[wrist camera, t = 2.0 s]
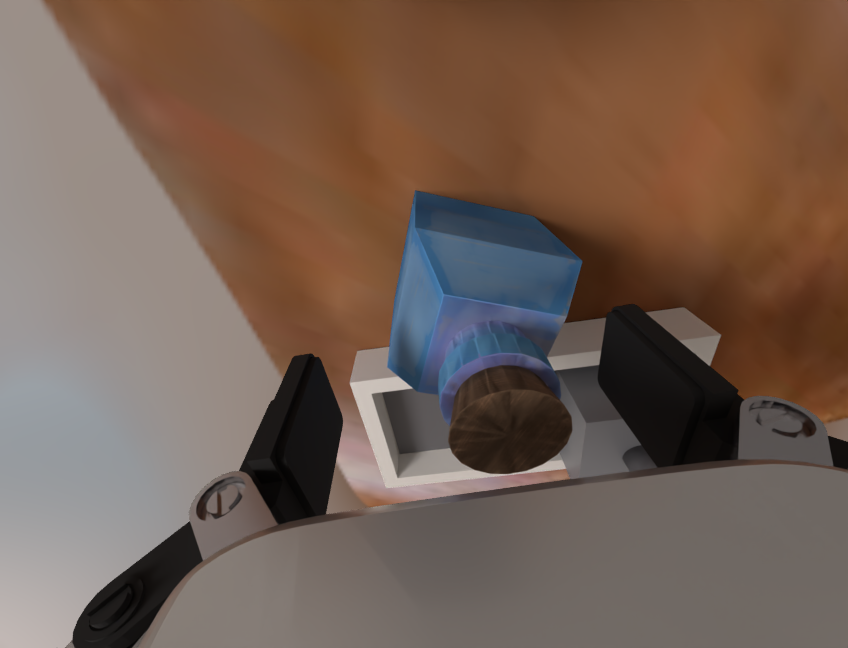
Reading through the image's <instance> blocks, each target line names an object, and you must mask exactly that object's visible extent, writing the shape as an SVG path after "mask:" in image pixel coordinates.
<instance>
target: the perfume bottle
mask: <svg viewBox="0 0 848 648" xmlns="http://www.w3.org/2000/svg"><path fill="white" fill-rule="evenodd" d="M581 265H582V260H581V259H580V258H578V257H577V256H576V255H575V254H574V253H573V252H572V251H571V250H570V249H569V248H568V247H567V246H565V245H564V244H563V243H562V242H561V241H560V240H559V239H558V238H557V237H556V236H555V235H553V234H552V233H551V232H550V231H549V230H548V229H547V228H546V227H545V226H544V225H543V224H542V223H540V222H539V221H538V220H537V219H536V218H535V217H534V216H530V215H526V214H521V213H516V212H512V211H507V210H503V209H498V208H493V207H489V206H484V205H480V204H475V203H470V202H466V201H461V200H457V199H452V198H447V197H443V196H438V195H434V194H429V193H424V192H420V191H415V194H414V199H413V205H412V210H411V215H410V221H409V226H408V231H407V237H406V242H405V247H404V253H403V258H402V263H401V269H400V274H399V279H398V285H397V290H396V295H395V301H394V310H393V319H392V328H391V337H390V345H389V354H388V363H387V368H389V369H390V370H391V371H392V372H394V373H395V374H396V375H397V376H398V377H400V378H401V379H402V380H403V381H405V382H406V383H407V384H408V385H409V386H411V387H412V388H413V389H414V390H416V391H417V392H421V393H428V394H435V395H439V405H440V410H441V412H442V415H443V418H444V420H445V422H446V423H447V424H448V425H449V426H450V429H449V437H448V443H449V446H450V449H451V451H452V454H453V455H454V456H455V457H456V458H457V459H458V460H459V461H460V462H461V463H462V464H464V465H466V466H468V467H470V468H472V469H473V470H476V471H480V472H485V473H489V474H512V473H518V472H523V471H527V470H530V469H533V468H535V467H538V466H540V465H543V464H544V463H546V462H547V461H549V460H550V459H552V458H553V457H555V456H556V455H558V453H559V452H560V451H561V450H562V449H563V448H564V447H565V446H566V444H567V443H568V440H569V438H570V435H571V433H572V417H571V415H570V413H569V412H568V410H567V408H566V407H565V405H564V404H563V403H562V402H561V401H560V398H561V388H560V381H559V379H558V377H557V375H556V373H555V372H554V370H553V368H552V366H551V364H550V362H549V360H548V359H547V356H548V354H549V352H550V350H551V348H552V346H553V344H554V342H555V340H556V338H557V336H558V334H559V332H560V330H561V328H562V326H563V324H564V322H565V320H566V317H567V314H568V311H569V307H570V304H571V300H572V297H573V293H574V290H575V286H576V283H577V279H578V276H579V272H580V269H581Z"/></svg>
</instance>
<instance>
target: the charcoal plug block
mask: <svg viewBox="0 0 848 648" xmlns="http://www.w3.org/2000/svg"><path fill="white" fill-rule="evenodd" d="M598 369H599V365H594V366H586V367H579V368H571V369H563V370H555V371H554V372H555V373H556V375H557V377H558V379H559V381H560V388H561V398H560V401H561V402H562V403H563V404H564V405H565V407H566V408H567V410H568V412H569V413H570V415H571V417H572V433H571V435H570V438H569V440H568V443H567V444H566V446H565V447H564V448H563V449H562V450H561V451H560V452H559V453H560V455H561V458H562V460H563V463H564V465H565V467H566V470H567V472H568V475H569V477H570V479H576V478H584V477H591V476H599V475H606V474H614V473H621V472H629V471H636V470H644V469H651V468H657V466H656V465H655V463H654V462H653V461H652V459H651V458H650V456H649V455H648V454H647V452H646V451H645V449H644V448H643V447H642V445H641V444H640V442H639V441H638V440H637V438H636V437H635V435H634V434H633V433H632V431H631V430H630V428H629V427H628V426H627V424H626V423H625V421H624V420H623V419H622V417H621V416H620V414H619V413H618V412H617V410H616V409H615V407H614V406H613V405H612V403H611V402H610V400H609V399H608V398H607V396H606V395H605V393H604V392H603V391H602V389H601V388H600V386H599V383H598V378H597V377H598Z"/></svg>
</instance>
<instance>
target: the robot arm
mask: <svg viewBox="0 0 848 648" xmlns="http://www.w3.org/2000/svg"><path fill="white" fill-rule="evenodd" d="M597 378H598V383H599V386H600V388H601V389H602V391H603V392H604V393H605V395H606V396H607V398H608V399H609V400H610V402H611V403H612V405H613V406H614V407H615V409H616V410H617V412H618V413H619V414H620V416H621V417H622V419H623V420H624V421H625V423H626V424H627V426H628V427H629V428H630V430H631V431H632V433H633V434H634V435H635V437H636V438H637V440H638V441H639V442H640V444H641V445H642V447H643V448H644V449H645V451H646V452H647V454H648V455H649V456H650V458H651V459H652V461H653V462H654V463H655V465H656V466H657V468H651V469H644V470H636V471H629V472H621V473H614V474H606V475H599V476H591V477H584V478H576V479H569V480H561V481H554V482H547V483H539V484H532V485H525V486H518V487H510V488H503V489H496V490H489V491H482V492H474V493H467V494H460V495H453V496H446V497H439V498H432V499H425V500H418V501H411V502H404V503H397V504H390V505H383V506H377V507H370V508H364V509H358V510H351V511H345V512H339V513H333V514H326V510H327V505H328V499H329V494H330V489H331V484H332V479H333V473H334V468H335V463H336V458H337V453H338V447H339V442H340V437H341V432H342V426H343V418H342V414H341V411H340V408H339V406H338V403H337V401H336V398H335V395H334V393H333V390H332V388H331V385H330V383H329V380H328V377H327V375H326V372H325V370H324V367H323V364H322V362H321V360H320V358H319V357H314V355H313V354H305V355H298V356H294V357H293V358H292V360H291V363H290V365H289V367H288V369H287V372H286V374H285V376H284V378H283V381H282V383H281V385H280V387H279V390H278V392H277V394H276V396H275V399H274V400H272V401H271V403H270V404H269V406H268V408H267V410H266V413H265V415H264V417H263V419H262V422H261V424H260V426H259V428H258V430H257V432H256V435H255V437H254V439H253V441H252V444H251V446H250V448H249V450H248V452H247V454H246V457H245V459H244V461H243V463H242V465H241V468H240V470H239V471H232V472H229V473H226V474H223V475H221V476H219V477H217V478H215V479H213V480H212V481H211V482H210V483H208V484H207V485H206V486H205V487H204V488H203V489H202V490H201V491H200V492H199V493H198V494H197V496H196V497H195V499H194V500H193V502H192V504H191V507H190V510H189V519H190V521H189V522H188V523H187V524H186V525H185V526H183V527H182V528H181V529H179V530H178V531H176V532H175V533H174V534H173V535H171V536H170V537H169V538H167V539H166V540H165V541H164V542H162V543H161V544H160V545H158V546H157V547H156V548H154V549H153V550H152V551H150V552H149V553H148V554H147V555H145V556H144V557H143V558H142V559H140V560H139V561H137V562H136V563H135V564H133V565H132V566H131V567H130V568H129V569H127V570H126V571H124V572H123V573H122V574H120V575H119V576H118V577H116V578H115V579H114V580H113V581H111V582H110V583H109V584H108V585H107V586H106V587H104V588H103V589H102V590H101V591H100V592H99V593H97V595H96V596H95V597H94V598H93V599H92V600H91V602H90V603H89V604H88V605H87V606H86V608H85V609H84V611H83V613H82V614H81V616H80V617H79V619H78V621H77V624H76V626H75V629H74V631H73V640H72V641H71V642H70V643H69V644H68V645H67V646H66V647H65V648H848V442H846V441H843V440H840V439H837V438H834V437H831V436H828V435H827V430H826V428H825V426H824V424H823V422H822V421H821V420H820V419H819V418H818V417H817V416H816V415H814V414H813V413H811V412H810V411H808V410H807V409H805V408H803V407H801V406H799V405H797V404H795V403H793V402H789V401H786V400H783V399H780V398H775V397H769V396H755V397H750V398H747V399H746V400H744V399H743V398H741V397H740V396H739V395H738V394H737V393H738V389H736V388H735V387H734V386H733V385H732V384H730V383H729V382H728V381H727V380H726V379H724V378H723V377H722V376H721V375H720V374H718V373H717V372H716V371H715V370H714V369H712V368H711V367H710V366H709V365H708V364H706V363H705V362H704V361H703V360H702V359H700V358H699V357H698V356H697V355H696V354H694V353H693V352H692V351H691V350H690V349H688V348H687V347H686V346H685V345H684V344H682V343H681V342H680V341H679V340H678V339H676V338H675V337H674V336H673V335H672V334H670V333H669V332H668V331H667V330H666V329H664V328H663V327H662V326H661V325H660V324H658V323H657V322H656V321H655V320H654V319H652V318H651V317H650V316H649V315H648V314H646V313H645V312H644V311H643V310H642V309H640V308H639V307H638V306H637V305H635V304H629V305H623V306H616V307H614V308H613V309H612V311H611V312H609V313H608V314H607V316H606V322H605V329H604V336H603V342H602V349H601V356H600V363H599V369H598V377H597Z"/></svg>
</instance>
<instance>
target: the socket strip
mask: <svg viewBox="0 0 848 648" xmlns="http://www.w3.org/2000/svg"><path fill="white" fill-rule="evenodd" d="M645 313H646V314H648V315H649V316H650V317H651V318H652V319H654V320H655V321H656V322H657V323H658V324H660V325H661V326H662V327H663V328H664V329H666V330H667V331H668V332H669V333H670V334H672V335H673V336H674V337H675V338H676V339H678V340H679V341H680V342H681V343H682V344H684V345H685V346H686V347H687V348H688V349H690V350H691V351H692V352H693V353H694V354H696V355H697V356H698V357H699V358H700V359H702V360H703V361H704V362H705V363H706V364H708V365H709V366H710V364H711V362H712V359H713V356H714V353H715V351H716V348H717V345H718V342H719V340H720V337H721V334H719V333H718V332H717V331H715V330H714V329H713V328H711V327H710V326H708V325H707V324H706V323H704V322H703V321H702V320H700V319H699V318H698V317H696V316H695V315H694V314H692V313H691V312H690V311H688V310H687V309H686V308H684V307H682V308H674V309H667V310H659V311H652V312H645ZM605 322H606V318H600V319H592V320H585V321H577V322H570V323H564V324H563V326H562V328H561V330H560V332H559V334H558V336H557V338H556V340H555V342H554V344H553V346H552V348H551V350H550V352H549V354H548V356H547V359H548V360H549V362H550V364H551V366H552V368H553V370H554V371H555V370H563V369H571V368H579V367H586V366H594V365H599V363H600V356H601V349H602V342H603V336H604V329H605ZM388 354H389V347H384V348H376V349H369V350H361V351H357V355H356V359H355V363H354V367H353V371H352V375H351V380H350V385H351V388H352V391H353V394H354V397H355V399H356V402H357V405H358V408H359V411H360V414H361V417H362V420H363V423H364V425H365V428H366V431H367V434H368V437H369V440H370V443H371V446H372V449H373V451H374V454H375V457H376V460H377V463H378V466H379V469H380V472H381V475H382V477H383V480H384V483H385V486H386V488H394V487H403V486H412V485H421V484H430V483H440V482H449V481H458V480H467V479H476V478H486V477H495V476H504V475H513V474H522V473H532V472H541V471H550V470H559V469H566V467H565V465H564V463H563V460H562V458H561V455H560V453H558V455H556V456H555V457H553V458H552V459H550V460H549V461H547V462H546V463H544V464H543V465H540V466H538V467H535V468H533V469H530V470H527V471H523V472H518V473H512V474H489V473H485V472H480V471H476V470H473V469H472V468H470V467H468V466H466V465H464V464H462V463H461V462H460V461H459V460H458V459H457V458H456V457H455V456H454V455H453V454H452V451H451V449H450V446H449V443H448V437H449V429H450V426H449V425H448V424H447V423H446V422H445V420H444V418H443V415H442V412H441V410H440V405H439V395H435V394H428V393H421V392H417V391H416V390H414V389H413V388H412V387H411V386H409V385H408V384H407V383H406V382H405V381H403V380H402V379H401V378H400V377H398V376H397V375H396V374H395V373H394V372H392V371H391V370H390V369H389V368H387V363H388Z"/></svg>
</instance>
